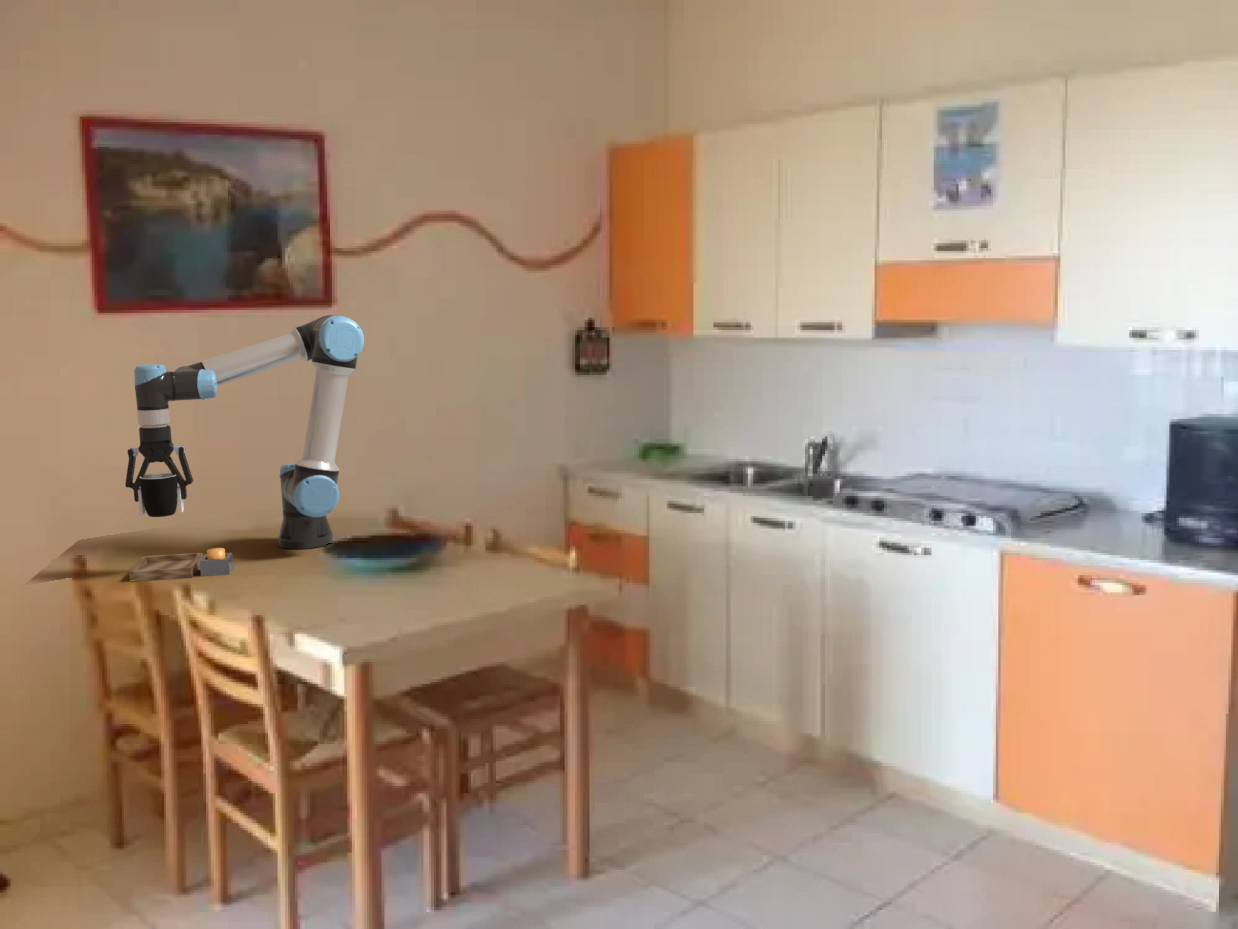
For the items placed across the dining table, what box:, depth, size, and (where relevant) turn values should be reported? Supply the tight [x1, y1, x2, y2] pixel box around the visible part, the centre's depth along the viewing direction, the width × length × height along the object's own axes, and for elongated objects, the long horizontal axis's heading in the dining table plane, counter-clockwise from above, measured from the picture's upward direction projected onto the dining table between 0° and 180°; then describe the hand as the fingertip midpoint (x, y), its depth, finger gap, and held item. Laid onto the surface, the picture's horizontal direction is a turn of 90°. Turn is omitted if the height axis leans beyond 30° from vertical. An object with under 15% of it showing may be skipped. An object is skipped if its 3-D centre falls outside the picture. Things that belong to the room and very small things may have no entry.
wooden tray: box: [128, 552, 204, 582], centre depth 312 cm, size 15×17×2 cm
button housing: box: [199, 552, 234, 577], centre depth 310 cm, size 7×7×4 cm
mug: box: [139, 472, 179, 518], centre depth 309 cm, size 12×9×10 cm
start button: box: [206, 547, 226, 559], centre depth 310 cm, size 4×4×5 cm
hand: (162, 512), depth 310 cm, fingers closed on mug, 9 cm apart
